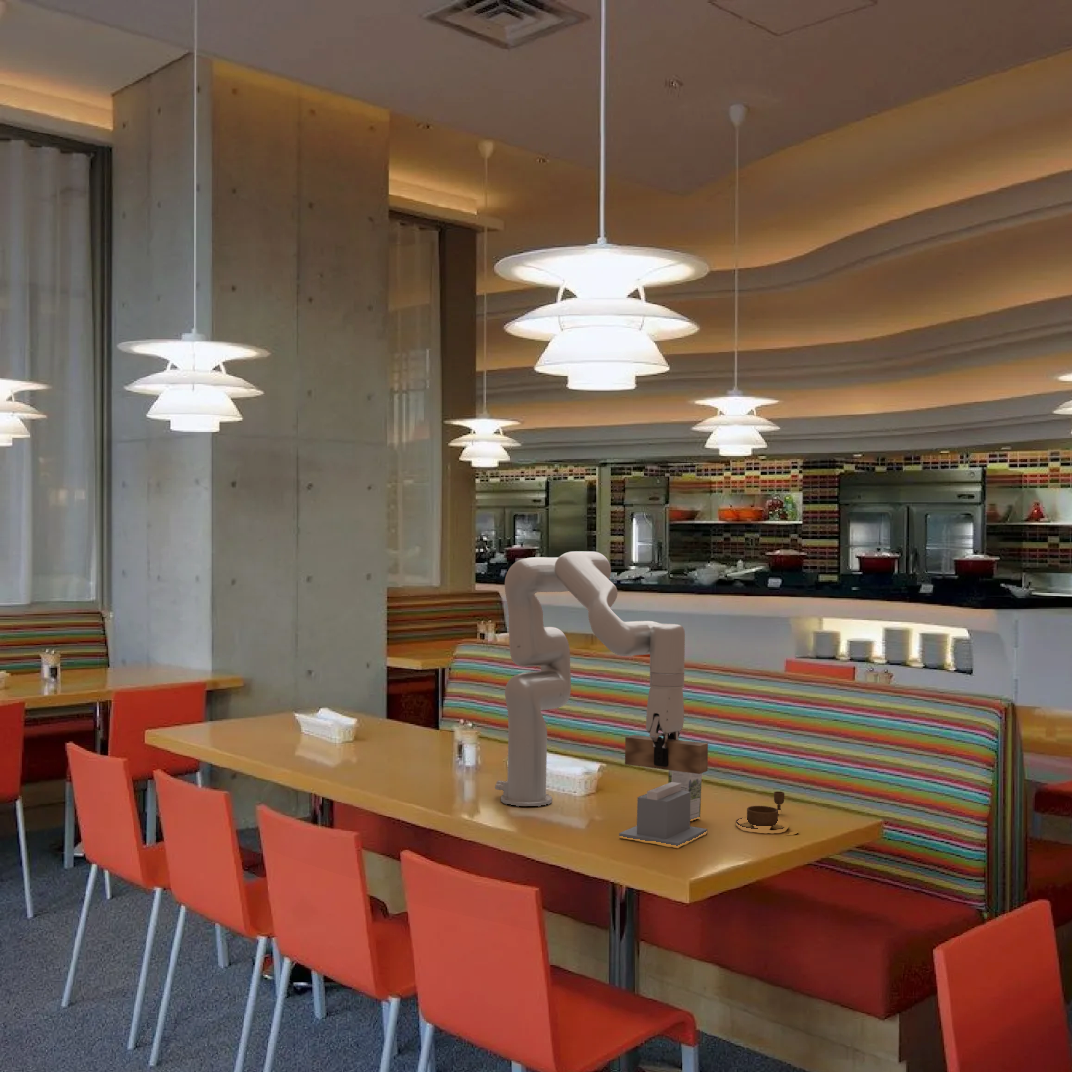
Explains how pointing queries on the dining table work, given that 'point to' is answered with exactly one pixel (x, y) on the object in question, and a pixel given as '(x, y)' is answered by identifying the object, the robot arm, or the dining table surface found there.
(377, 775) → the dining table surface
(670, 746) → the walnut bar
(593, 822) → the dining table surface
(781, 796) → the place setting
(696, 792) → the syrup box
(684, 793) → the stand
